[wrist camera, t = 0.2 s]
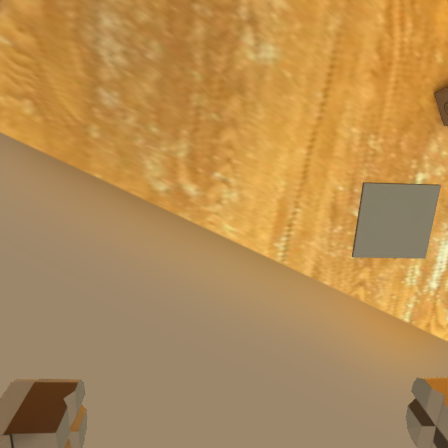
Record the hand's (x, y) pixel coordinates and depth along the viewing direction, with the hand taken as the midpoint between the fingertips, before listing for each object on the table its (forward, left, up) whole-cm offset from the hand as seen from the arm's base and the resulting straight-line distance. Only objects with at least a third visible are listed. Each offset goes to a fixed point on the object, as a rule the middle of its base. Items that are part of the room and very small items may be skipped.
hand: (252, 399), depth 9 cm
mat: (+9, +30, -48) cm, 57 cm away
